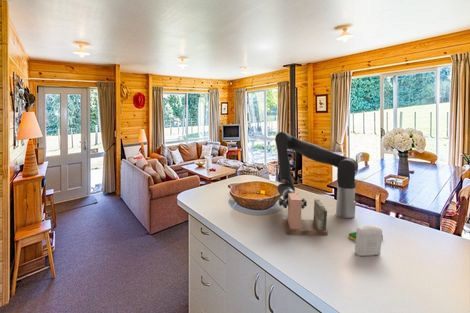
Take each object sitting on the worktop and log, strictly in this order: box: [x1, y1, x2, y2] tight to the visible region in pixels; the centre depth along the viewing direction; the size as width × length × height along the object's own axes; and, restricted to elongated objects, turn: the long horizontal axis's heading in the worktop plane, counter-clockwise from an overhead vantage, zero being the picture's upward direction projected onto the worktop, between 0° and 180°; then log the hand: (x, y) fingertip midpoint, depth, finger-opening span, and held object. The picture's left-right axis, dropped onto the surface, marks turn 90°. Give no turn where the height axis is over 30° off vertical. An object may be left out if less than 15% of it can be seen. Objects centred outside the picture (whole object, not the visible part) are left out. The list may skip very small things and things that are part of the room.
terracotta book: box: [287, 192, 303, 229], centre depth 133 cm, size 5×11×15 cm, turn 176°
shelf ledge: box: [282, 198, 329, 236], centre depth 132 cm, size 20×14×14 cm
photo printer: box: [354, 224, 383, 257], centre depth 108 cm, size 10×4×12 cm, turn 98°
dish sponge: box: [348, 231, 384, 243], centre depth 123 cm, size 7×14×2 cm, turn 108°
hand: (294, 206), depth 132 cm, fingers open, 8 cm apart
